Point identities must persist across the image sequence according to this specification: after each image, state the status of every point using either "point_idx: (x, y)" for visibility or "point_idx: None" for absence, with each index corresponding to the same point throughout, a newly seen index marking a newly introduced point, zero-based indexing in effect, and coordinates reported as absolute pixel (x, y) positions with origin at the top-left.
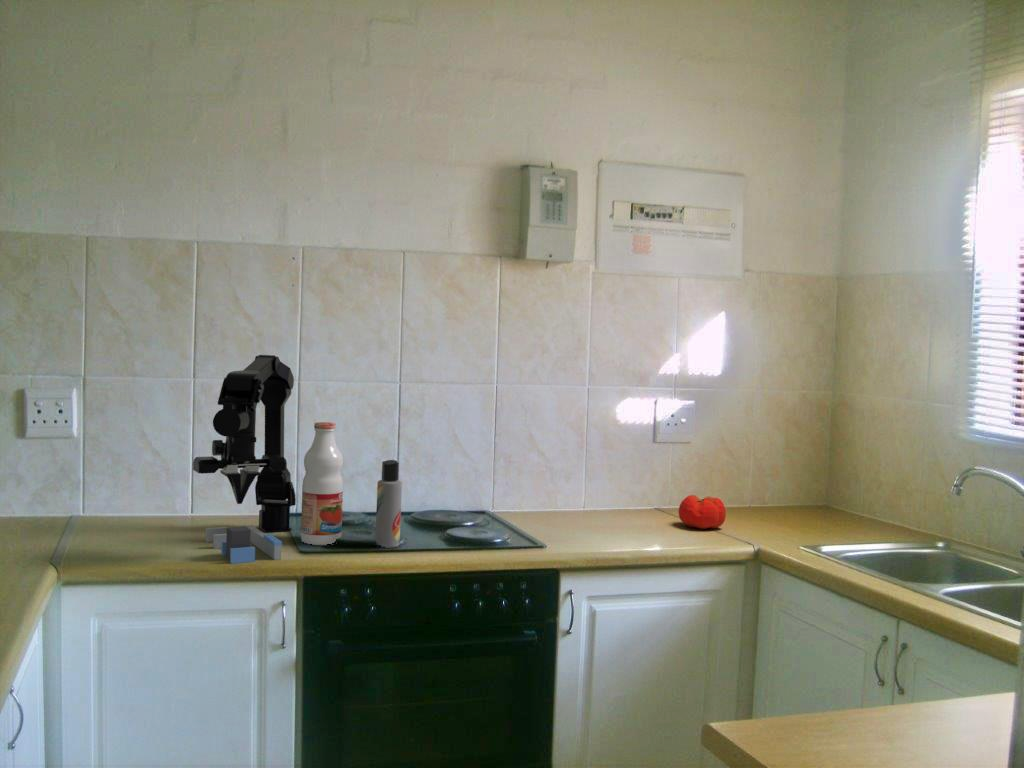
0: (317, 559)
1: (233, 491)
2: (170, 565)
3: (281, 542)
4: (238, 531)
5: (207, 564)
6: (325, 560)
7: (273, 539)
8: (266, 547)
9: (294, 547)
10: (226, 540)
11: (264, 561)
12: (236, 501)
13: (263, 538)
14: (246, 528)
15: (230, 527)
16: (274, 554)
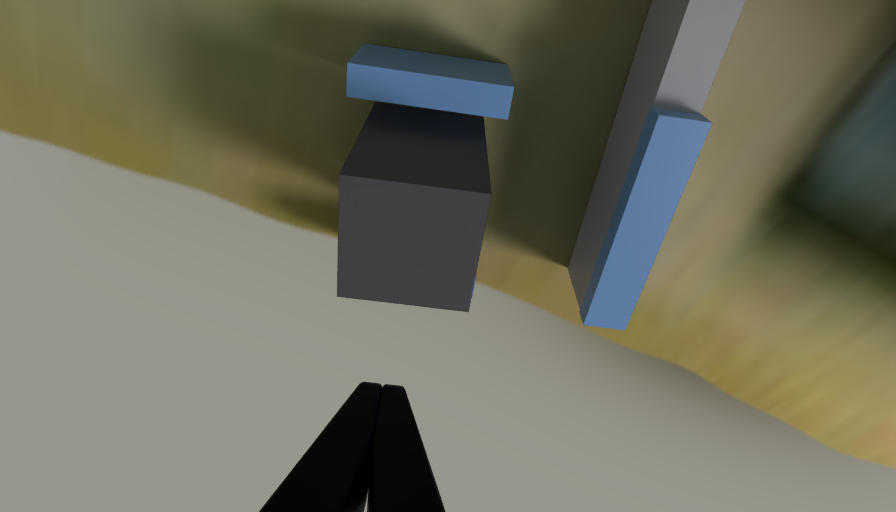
0: (731, 340)
1: (282, 495)
2: (54, 136)
3: (622, 326)
4: (384, 297)
5: (244, 203)
6: (744, 365)
7: (621, 267)
8: (615, 158)
9: (853, 72)
10: (357, 139)
11: (512, 271)
12: (351, 399)
13: (653, 101)
14: (461, 268)
15: (365, 189)
16: (572, 283)
